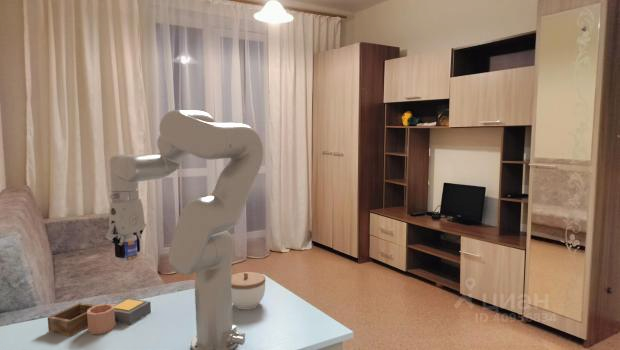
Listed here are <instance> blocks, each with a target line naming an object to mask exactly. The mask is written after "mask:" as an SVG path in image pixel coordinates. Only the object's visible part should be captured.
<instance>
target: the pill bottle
mask: <svg viewBox="0 0 620 350" xmlns="http://www.w3.org/2000/svg"><path fill="white" fill-rule="evenodd" d="M119 238H120V236H118V239H119ZM123 245H124V246H125V257H124V258H119V257H117V259H118V261H119V262H120V263H131V262H134V261H137V260H138V252H137V237H136V235H134V234H133V233H132V234H129V235H125V236H124V240H123Z"/></svg>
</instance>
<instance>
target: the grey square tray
mask: <svg viewBox="0 0 620 350" xmlns="http://www.w3.org/2000/svg"><path fill="white" fill-rule="evenodd" d="M128 299H129V300H135V301H141V302H144V304H142V305H140V306H139V307H137V308H135V309H133V310H131V311H129V312H128V311H122V310H116V309H114V311H115V323H117V324H118V323H119V324H124V325H132V324H134V323H135V322H137V321H139V320H140V319H143V318H144V317H146V316H147V315H149V314H151V313H152V308H151V307H152V306H151V305H152V304H151V301H147V300H143V299H142V300H140V299H135V298H129V297H128V298H125V299H124V300H122V301H119V302H117V303H116V304H113V305H114V306H116V305H118V304H120V303H122V302H124V301H126V300H128Z"/></svg>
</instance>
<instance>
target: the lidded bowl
mask: <svg viewBox="0 0 620 350" xmlns="http://www.w3.org/2000/svg"><path fill="white" fill-rule="evenodd" d="M231 285H232V286H231V291H232V305H234V306H235V307H236V309H238V310H242V309H243V310H244V311H245V310H247V309H248V310H252V309H255V308H257V307H258V305H259V304H260V303H261V301H263V298H264V295H265V291H266V290H265V289H266V276H265V275H264V274H263V273H259V272H257V271H256V272H255V271H245V272H243V271H242V272H238V273H234V274H231Z"/></svg>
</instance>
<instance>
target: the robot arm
mask: <svg viewBox="0 0 620 350" xmlns="http://www.w3.org/2000/svg"><path fill="white" fill-rule="evenodd" d="M159 133H160V134H159V136H158V137H157V140H156V146H157V149H158V150H159V152H158V153H152V154H151V153H150V154H139V155H138V154H137V155H134V154H113V155H112V156H111V157H110V159H109V172H110V175H109V176H110V191H111V194H110V195H109V198H110V199H111V201H110V203H109V204H110V205H109V212H108V213H109V215H108V231H107V232H106V234H105V238H106V239H108V240H109V241H110V242H111V243H112V245H114V256H115V258H118V257H119V258H124V257H125V246H124V245H123V240H124V236H125V235H129V234H132V233H133V234H134V235H136V237H137V253H140V251H141V241H140V240H141V238H142V234H143V232H144V230H145V228H146V227H147V224H146V223H145V212H144V206H143V202H142V199H141V198H140V193H139V190H140V189H139V182H144V181H145V182H146V181H151V180H160V179H164V178H166V177H167V176H169V175H171V174H173V173H174V172H176V171H177V170H179V169H180V168H181V166H182V165H183V162H184V158H186V156H188V155H192V156H195V157H197V158H199V159H203V160H209V161H210V160H222V159H223V160H224V159H230V160H229V161H228V163H227V164H226V166H225V167H223V169H222V170H221V172H220V173H219V176H218V178H217V181H216V185H215V187H214V189H213V191H212V193H210V194H209V195H207V196H202V197H198V198H194V199H193V200H190V201H189V202H187V204H186V205H184V207H183V208H182V210H181V211H180V215H179V218H178V220H177V224H176V226H175V229H174V232H173V236H172V238H171V242H170V245H169V249H168V260H169V263H170V266H171V268H172V270H173V271H174V272H175V273H177V274H178V275H183V276H189V275H193V274H195V277H194V304H195V324H196V325H195V326H196V327H195V328H196V335H195V336H194V337H193V338H192V339H191V342H190V346H191V350H234V349H235V348H236V347H237V346H244V345H245V342H246V338H245V337H246V333H245V332H238V331H237V330H238V329H237V325H235V324H234V322H233V321H234V320H233V303H232V291H231V286H232V285H231V275H232V265H233V257H234V251H235V248H234V247H235V242H234V239H233V238H234V237H232V235H231V233H230V232H229V231H228V230H232V229H233V228H235V227H236V226H237V225H238V224H239V222H240V219H241V217H242V214H243V212H244V209H245V206H246V204H247V201H248V199H249V196H250V194H251V193H250V192H251V190H252V188H253V184H254V182H255V180H256V178H257V176H258V175H259V171H260V170H261V166H262V164H263V159H264V147H263V143H262V139H261V137H260V135H259V134H258V132H257V131H256V130H255V129H254V128H252V127H251V126H249V125H248V124H244V123H236V122H216V121H215V119H214V118H213V117H212V116H211V115H210V114H209V113H208V112H205V111H202V110H187V109H174V110H171V111H167V113H165V114H164V115H163V116H162V118H161V120H160V122H159ZM119 236H120V238H119V239H118V237H119Z"/></svg>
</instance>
